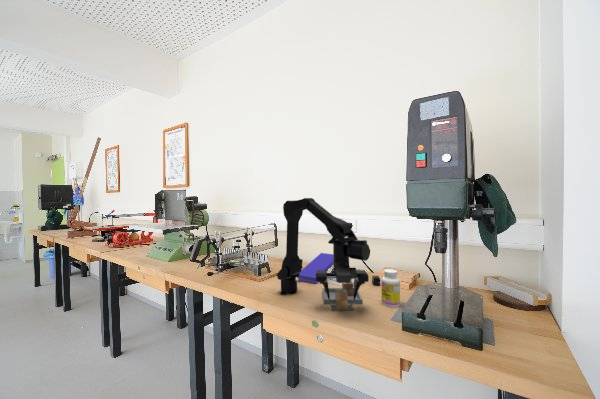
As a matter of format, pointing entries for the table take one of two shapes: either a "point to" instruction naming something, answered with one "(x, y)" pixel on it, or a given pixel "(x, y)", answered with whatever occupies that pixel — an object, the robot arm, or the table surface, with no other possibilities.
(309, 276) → the purple flat box
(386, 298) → the supplement bottle
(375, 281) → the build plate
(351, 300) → the parts tray
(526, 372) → the table surface
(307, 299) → the table surface
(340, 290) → the labelled block
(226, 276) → the table surface
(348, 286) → the walnut block
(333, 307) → the rubber mat
